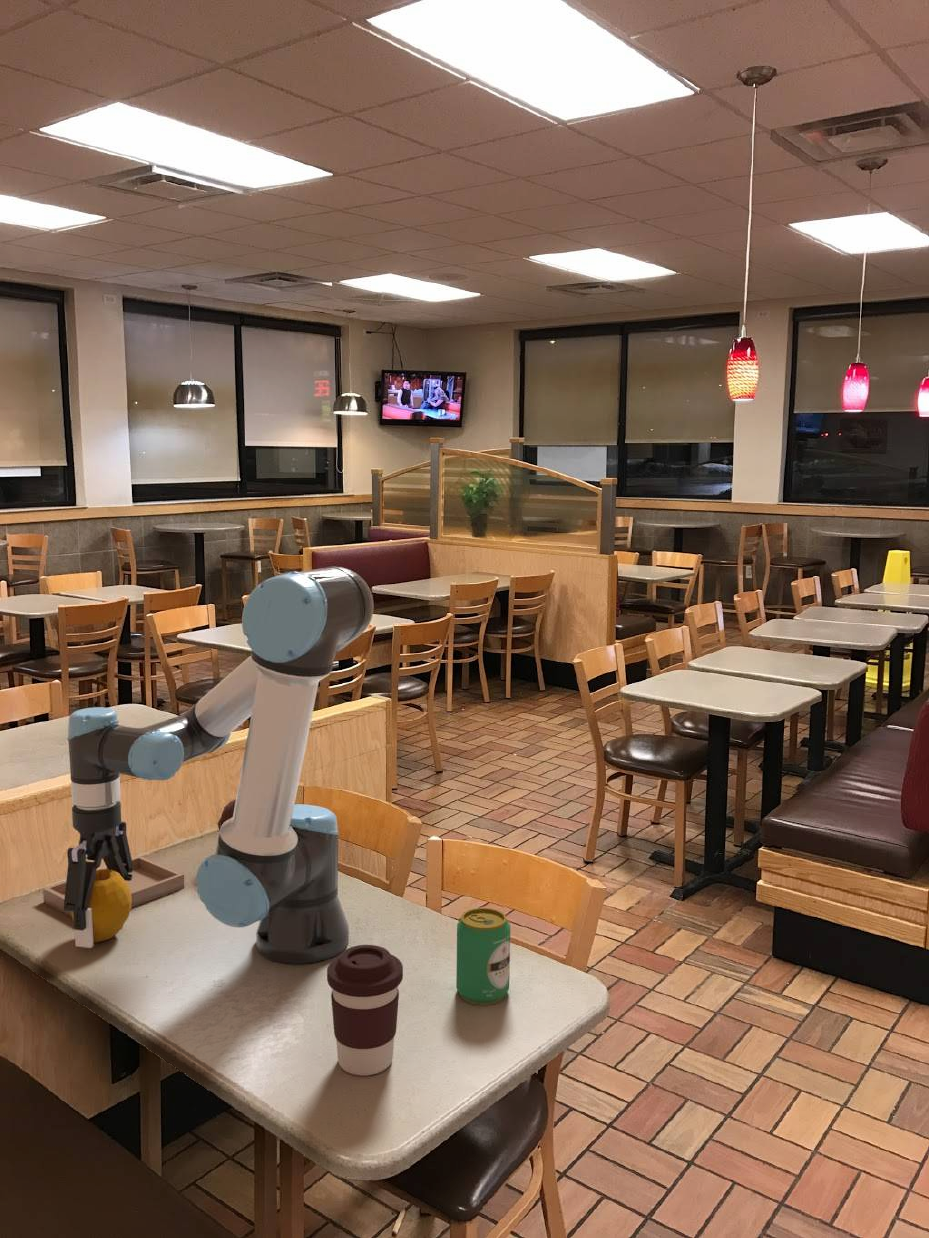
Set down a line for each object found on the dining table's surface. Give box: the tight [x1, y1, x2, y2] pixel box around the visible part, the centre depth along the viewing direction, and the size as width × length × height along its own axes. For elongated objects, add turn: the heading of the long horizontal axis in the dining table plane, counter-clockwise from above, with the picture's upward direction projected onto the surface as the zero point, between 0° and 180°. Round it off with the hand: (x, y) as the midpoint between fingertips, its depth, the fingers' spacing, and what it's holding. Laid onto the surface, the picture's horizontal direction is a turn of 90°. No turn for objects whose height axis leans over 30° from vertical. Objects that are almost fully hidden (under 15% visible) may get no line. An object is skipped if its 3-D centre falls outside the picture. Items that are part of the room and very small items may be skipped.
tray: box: [42, 855, 185, 918], centre depth 186 cm, size 20×14×3 cm
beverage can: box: [455, 907, 511, 1006], centre depth 152 cm, size 8×8×12 cm
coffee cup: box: [326, 944, 404, 1077], centre depth 134 cm, size 10×10×15 cm
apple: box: [71, 869, 132, 943], centre depth 168 cm, size 10×10×12 cm
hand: (102, 931), depth 169 cm, fingers closed on apple, 10 cm apart
